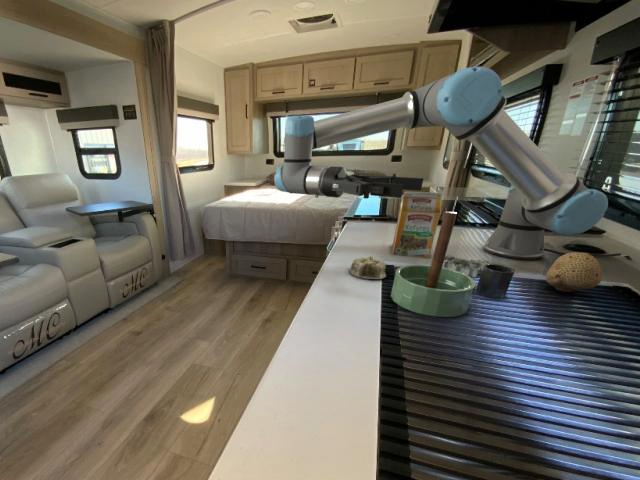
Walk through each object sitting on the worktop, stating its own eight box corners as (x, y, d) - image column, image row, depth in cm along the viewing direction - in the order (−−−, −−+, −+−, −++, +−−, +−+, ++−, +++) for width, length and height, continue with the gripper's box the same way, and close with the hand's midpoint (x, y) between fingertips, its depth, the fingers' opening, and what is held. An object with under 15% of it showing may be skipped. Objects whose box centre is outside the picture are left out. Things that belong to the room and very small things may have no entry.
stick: (430, 298, 77) (454, 211, 68) (434, 303, 75) (459, 213, 66) (420, 298, 77) (442, 211, 68) (423, 302, 75) (447, 213, 66)
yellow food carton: (392, 254, 108) (404, 193, 100) (392, 245, 117) (403, 189, 108) (429, 257, 104) (444, 195, 96) (425, 248, 113) (440, 190, 105)
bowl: (449, 290, 82) (456, 266, 79) (480, 321, 68) (491, 293, 65) (383, 287, 84) (388, 263, 81) (401, 317, 70) (407, 289, 67)
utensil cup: (495, 291, 81) (505, 264, 78) (509, 301, 76) (520, 273, 73) (470, 290, 82) (478, 263, 79) (482, 300, 77) (491, 272, 74)
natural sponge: (601, 297, 77) (622, 257, 73) (574, 303, 75) (594, 261, 71) (558, 283, 85) (574, 245, 81) (532, 287, 83) (548, 249, 79)
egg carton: (487, 275, 91) (492, 261, 89) (470, 280, 88) (475, 265, 86) (450, 263, 99) (453, 250, 97) (433, 267, 96) (437, 254, 94)
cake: (344, 269, 97) (346, 251, 95) (378, 270, 97) (381, 252, 95) (354, 279, 88) (357, 260, 86) (392, 280, 88) (396, 260, 86)
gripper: (347, 190, 97) (425, 197, 84) (300, 202, 81) (388, 213, 68) (350, 163, 94) (432, 165, 81) (302, 169, 77) (395, 174, 64)
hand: (412, 187), depth 74 cm, fingers open, 13 cm apart
